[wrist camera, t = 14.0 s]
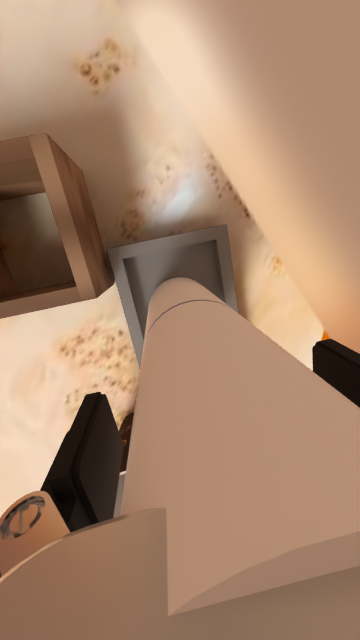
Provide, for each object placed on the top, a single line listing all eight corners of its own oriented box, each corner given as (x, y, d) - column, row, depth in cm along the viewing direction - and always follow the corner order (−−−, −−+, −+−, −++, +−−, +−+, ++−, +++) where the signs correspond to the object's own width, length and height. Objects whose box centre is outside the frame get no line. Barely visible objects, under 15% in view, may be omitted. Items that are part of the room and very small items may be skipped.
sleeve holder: (-36, 193, 23) (-129, 165, 16) (81, 170, 24) (46, 132, 16) (11, 306, 27) (-48, 328, 19) (113, 284, 27) (96, 298, 19)
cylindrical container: (193, 265, 26) (562, 416, 2) (221, 319, 28) (573, 697, 4) (136, 297, 27) (-35, 702, 3) (168, 349, 29) (227, 840, 5)
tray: (111, 249, 26) (106, 249, 24) (220, 226, 26) (226, 224, 24) (146, 378, 31) (145, 389, 28) (238, 357, 31) (245, 366, 29)
